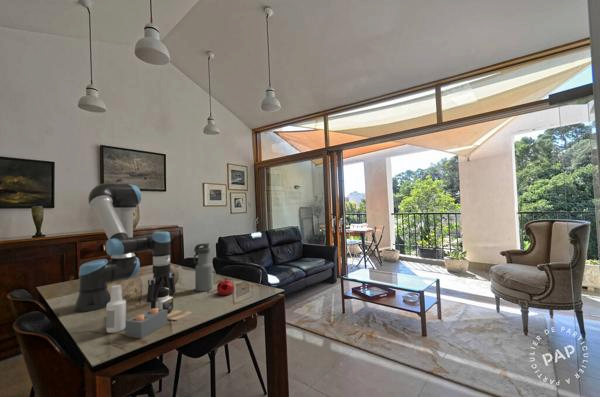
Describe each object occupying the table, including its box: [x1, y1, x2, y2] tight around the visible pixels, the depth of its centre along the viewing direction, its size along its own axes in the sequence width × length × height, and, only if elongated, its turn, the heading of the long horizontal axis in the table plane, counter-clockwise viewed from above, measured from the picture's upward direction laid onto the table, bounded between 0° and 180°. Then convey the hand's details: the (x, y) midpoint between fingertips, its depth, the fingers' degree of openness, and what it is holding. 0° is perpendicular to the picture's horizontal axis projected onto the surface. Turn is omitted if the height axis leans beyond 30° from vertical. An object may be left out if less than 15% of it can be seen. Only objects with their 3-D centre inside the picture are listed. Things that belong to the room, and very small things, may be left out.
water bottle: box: [193, 242, 213, 292], centre depth 162 cm, size 10×10×28 cm
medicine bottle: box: [149, 288, 174, 314], centre depth 125 cm, size 7×7×12 cm
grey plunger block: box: [125, 308, 168, 339], centre depth 109 cm, size 8×13×6 cm, turn 163°
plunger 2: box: [149, 308, 158, 314], centre depth 112 cm, size 3×3×6 cm
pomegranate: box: [216, 277, 235, 296], centre depth 153 cm, size 10×10×9 cm
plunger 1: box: [135, 314, 144, 321], centre depth 105 cm, size 3×3×6 cm
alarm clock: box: [152, 263, 182, 296], centre depth 155 cm, size 14×10×18 cm
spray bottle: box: [105, 284, 127, 334], centre depth 110 cm, size 7×7×18 cm
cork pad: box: [167, 309, 192, 322], centre depth 122 cm, size 9×9×1 cm
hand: (161, 312), depth 124 cm, fingers closed on medicine bottle, 7 cm apart
